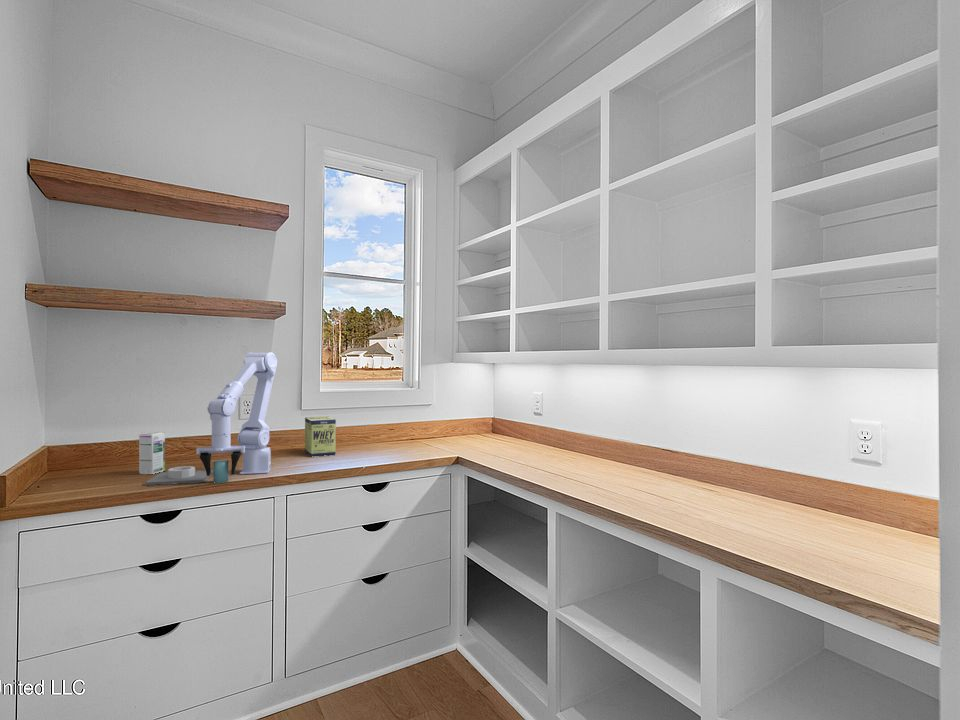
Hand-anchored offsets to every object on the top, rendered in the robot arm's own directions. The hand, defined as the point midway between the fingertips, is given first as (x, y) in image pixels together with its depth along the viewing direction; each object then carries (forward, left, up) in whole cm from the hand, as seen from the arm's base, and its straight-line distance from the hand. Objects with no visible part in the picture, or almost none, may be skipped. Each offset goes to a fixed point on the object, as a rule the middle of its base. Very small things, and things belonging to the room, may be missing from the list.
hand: (220, 474), depth 173 cm
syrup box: (+27, -21, -3) cm, 34 cm away
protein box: (-30, -48, -3) cm, 57 cm away
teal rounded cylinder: (0, 0, -2) cm, 2 cm away
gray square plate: (+14, -8, -2) cm, 16 cm away
